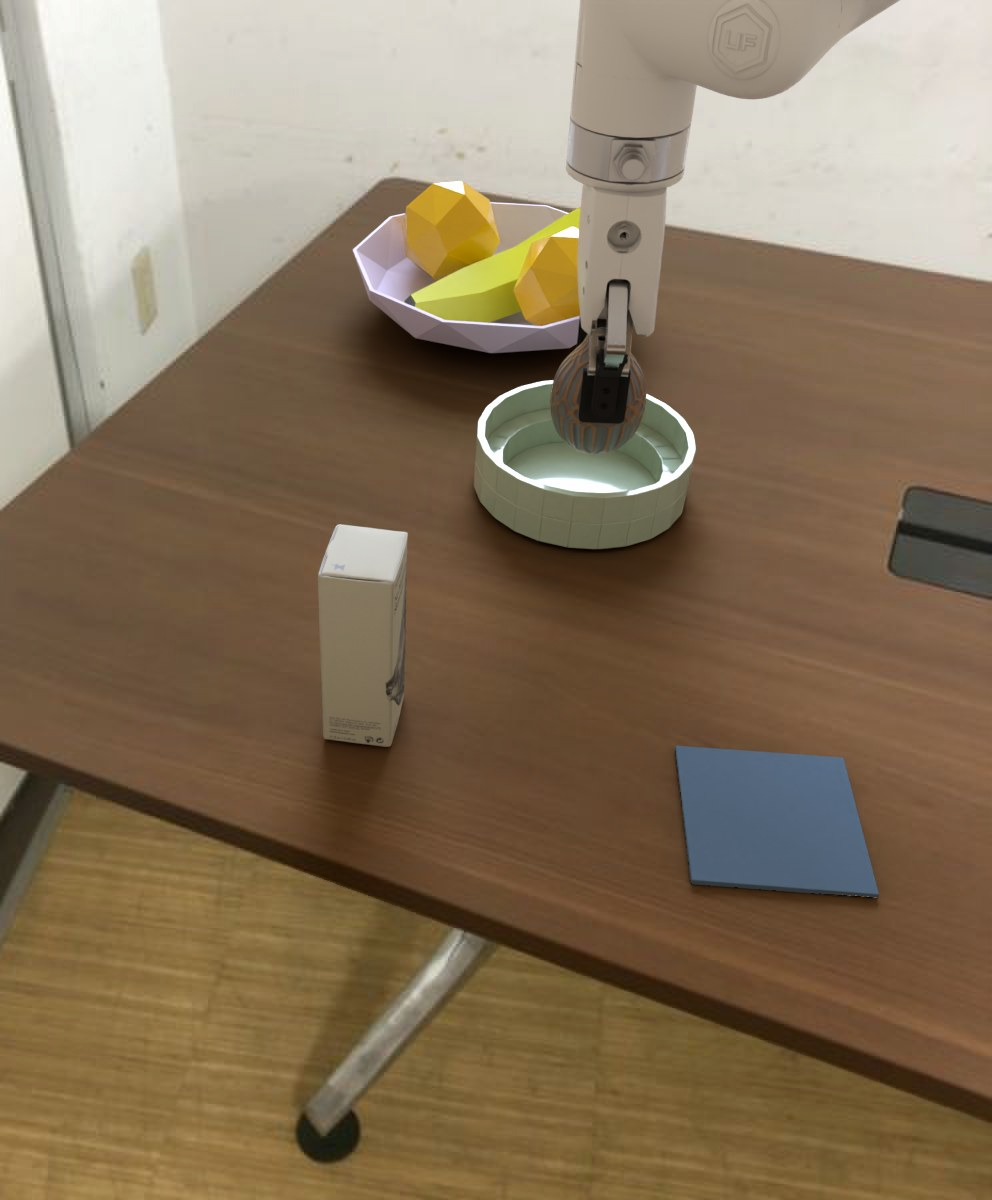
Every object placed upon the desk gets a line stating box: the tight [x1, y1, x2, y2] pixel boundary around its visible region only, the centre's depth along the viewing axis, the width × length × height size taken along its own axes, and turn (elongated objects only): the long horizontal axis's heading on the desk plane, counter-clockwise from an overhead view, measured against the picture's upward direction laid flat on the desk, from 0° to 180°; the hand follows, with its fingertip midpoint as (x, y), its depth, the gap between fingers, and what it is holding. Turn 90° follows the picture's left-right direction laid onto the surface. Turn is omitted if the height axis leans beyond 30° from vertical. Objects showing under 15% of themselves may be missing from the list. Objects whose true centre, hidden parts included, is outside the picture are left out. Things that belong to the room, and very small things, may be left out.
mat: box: [674, 745, 880, 898], centre depth 71 cm, size 10×10×1 cm
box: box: [317, 523, 409, 748], centre depth 73 cm, size 5×4×13 cm
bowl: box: [473, 379, 697, 550], centre depth 95 cm, size 16×16×5 cm
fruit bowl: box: [352, 180, 581, 354], centre depth 114 cm, size 28×27×11 cm
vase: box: [550, 327, 647, 455], centre depth 90 cm, size 7×7×9 cm
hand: (598, 391), depth 90 cm, fingers closed on vase, 6 cm apart
